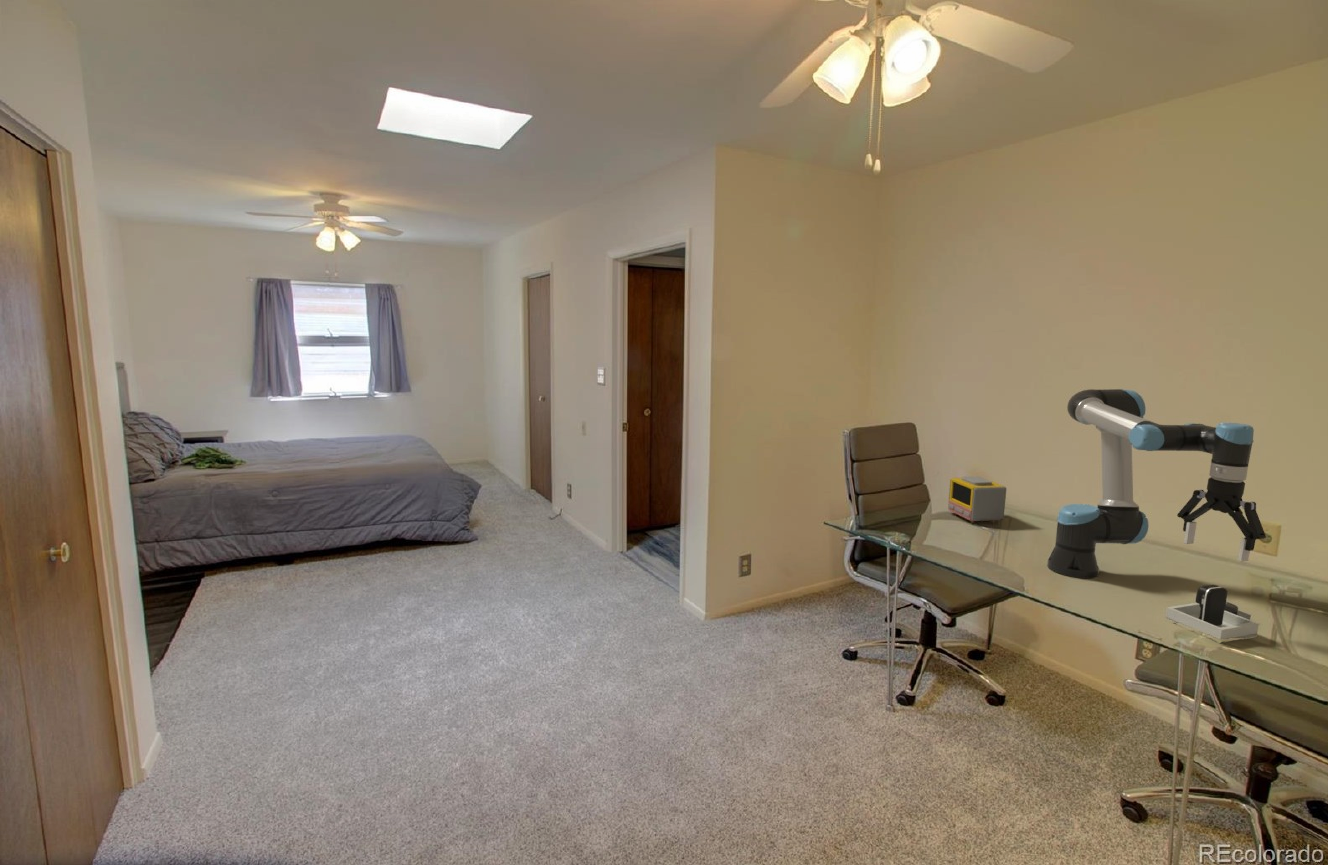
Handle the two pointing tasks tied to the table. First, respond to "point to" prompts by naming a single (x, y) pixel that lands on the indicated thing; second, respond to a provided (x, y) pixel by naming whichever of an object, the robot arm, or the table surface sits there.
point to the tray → (1229, 629)
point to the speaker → (1236, 610)
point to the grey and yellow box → (977, 499)
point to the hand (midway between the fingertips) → (1214, 551)
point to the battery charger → (1211, 603)
